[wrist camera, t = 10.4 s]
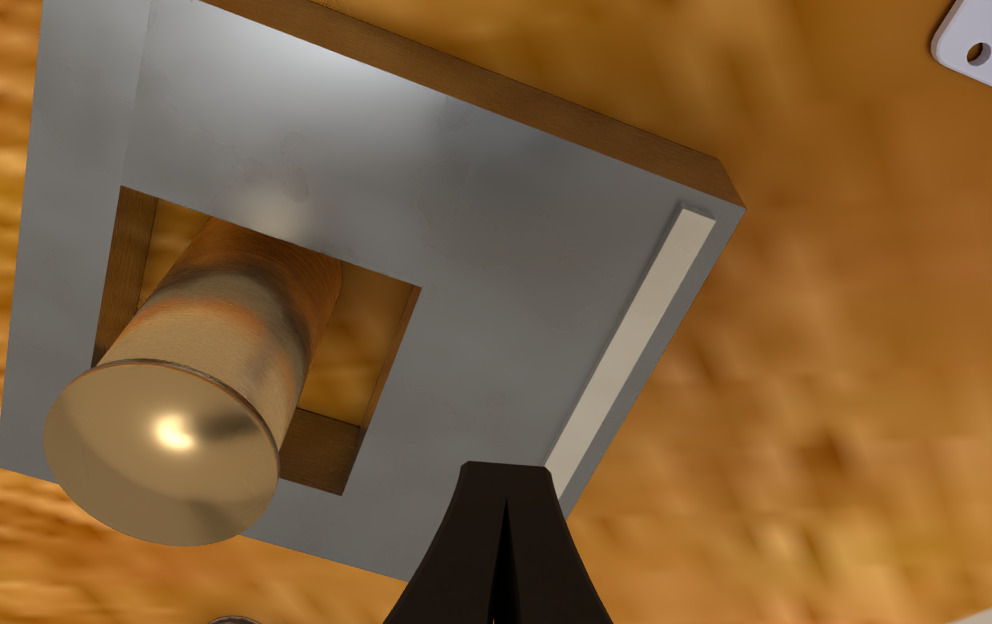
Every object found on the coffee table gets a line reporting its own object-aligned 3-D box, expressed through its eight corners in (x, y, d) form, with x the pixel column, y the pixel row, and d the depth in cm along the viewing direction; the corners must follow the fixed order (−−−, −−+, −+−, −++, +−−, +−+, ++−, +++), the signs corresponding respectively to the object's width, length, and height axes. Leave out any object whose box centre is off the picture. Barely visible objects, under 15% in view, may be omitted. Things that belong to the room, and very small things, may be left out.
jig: (718, 160, 21) (749, 214, 18) (513, 537, 28) (512, 619, 25) (113, -76, 19) (41, -55, 16) (48, 399, 26) (-11, 473, 23)
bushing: (352, 203, 22) (274, 382, 15) (347, 345, 24) (277, 556, 17) (181, 183, 22) (25, 354, 15) (192, 327, 24) (60, 534, 17)
